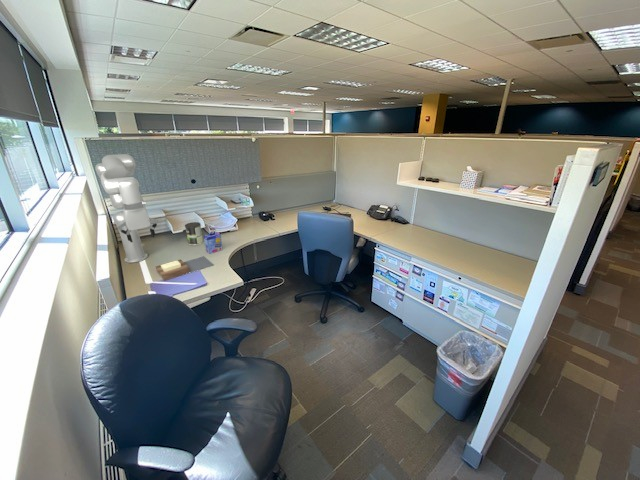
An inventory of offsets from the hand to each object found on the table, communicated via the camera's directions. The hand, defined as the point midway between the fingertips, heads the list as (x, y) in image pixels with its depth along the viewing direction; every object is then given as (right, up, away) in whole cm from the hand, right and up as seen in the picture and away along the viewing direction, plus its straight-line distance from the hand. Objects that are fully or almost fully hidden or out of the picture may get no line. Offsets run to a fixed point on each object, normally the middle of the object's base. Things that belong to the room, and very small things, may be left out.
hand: (142, 239), depth 138 cm
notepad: (+3, -16, +22) cm, 27 cm away
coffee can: (-2, -3, +63) cm, 63 cm away
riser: (+3, -19, +23) cm, 30 cm away
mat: (+14, -16, +32) cm, 38 cm away
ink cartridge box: (+17, -8, +50) cm, 54 cm away
